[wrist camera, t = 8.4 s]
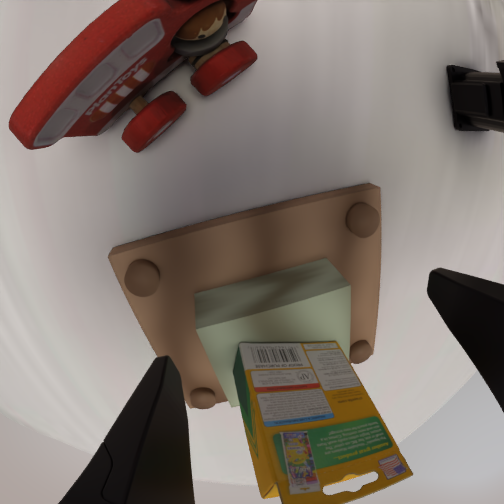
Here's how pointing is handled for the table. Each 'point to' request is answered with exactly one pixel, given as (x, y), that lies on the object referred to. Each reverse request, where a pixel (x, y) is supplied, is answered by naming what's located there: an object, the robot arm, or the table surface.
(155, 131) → the toy fire truck
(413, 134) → the table surface
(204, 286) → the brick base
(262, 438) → the crayon box
